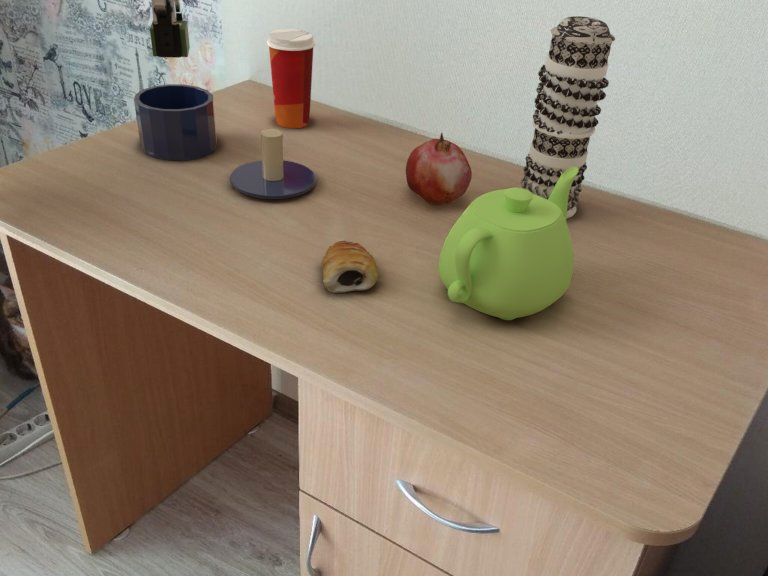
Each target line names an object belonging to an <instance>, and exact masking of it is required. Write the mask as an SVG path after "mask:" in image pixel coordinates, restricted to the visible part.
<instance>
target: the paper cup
mask: <svg viewBox="0 0 768 576" xmlns="http://www.w3.org/2000/svg"><path fill="white" fill-rule="evenodd" d="M266 44H267V47H268V50H269V62H270V72H271V73H270V74H271V85H272V95H273V106H274V115H275V123H276V125H278V126H280V127H282V128H286V129H301V128H305V127H307V126H309V124H310V114H311V100H312V98H311V97H312V82H313V81H312V79H313V64H314V63H313V61H314V60H313V59H314V47H315V46H316V42H315V40H314V36H313V34H312V33H310V32H307V31H305V30H303V29H300V28H299V29H298V28H279V29H274V30H271V31H270V33H269V36H268V38H267V41H266Z"/></svg>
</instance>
